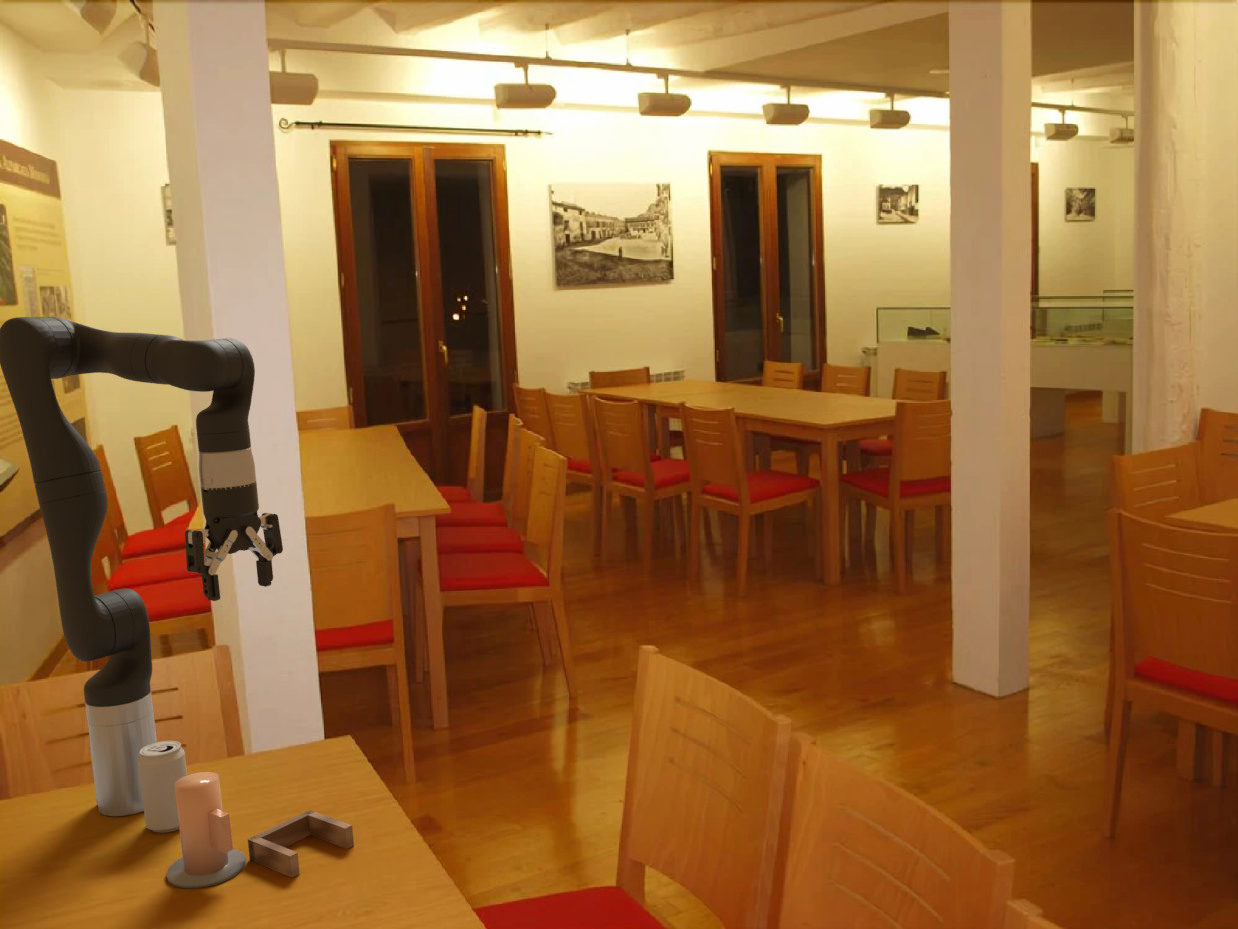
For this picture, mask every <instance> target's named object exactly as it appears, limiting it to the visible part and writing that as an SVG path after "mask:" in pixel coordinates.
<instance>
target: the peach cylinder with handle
mask: <svg viewBox="0 0 1238 929" xmlns="http://www.w3.org/2000/svg"><path fill="white" fill-rule="evenodd" d="M220 784H221V783H220V775H219V774H218V773H216V772H212V771H202V772H201V771H200V772H195V773H191V774H187V776H184V777H182V778H180V779H179V780H177V781H176V782H175V784H174V786H175V795H176V803H177V812H178V821H179V829H178V830H179V835H180V844H181V853H182V854H181V855H182V857H183V863H184V871H185V872H186V873H187V874H189V875H194V876H200V875H207V874H211V873H214V872H217V871H219V870H221V869H222V868H224V867H225V866H226V865H227V863H228V854H227V852H229V851H231V850H233V849H234V846H233V838H232V836H233V835H232V830H231V829H232V828H231V820H230V818H231V817H230V813H228V812H226V811H223V801H222V792H221V785H220Z"/></svg>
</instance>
